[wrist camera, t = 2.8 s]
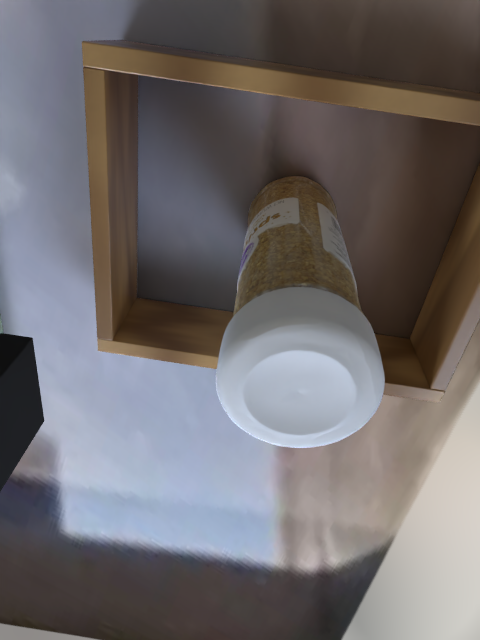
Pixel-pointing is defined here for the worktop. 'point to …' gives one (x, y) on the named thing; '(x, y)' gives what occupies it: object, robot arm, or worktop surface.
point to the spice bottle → (298, 326)
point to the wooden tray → (210, 324)
